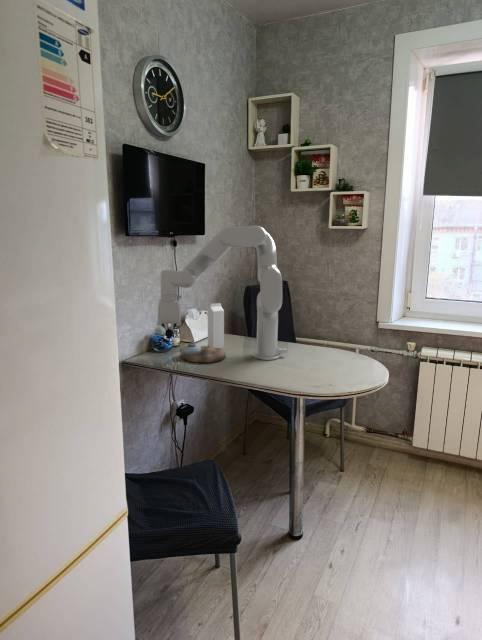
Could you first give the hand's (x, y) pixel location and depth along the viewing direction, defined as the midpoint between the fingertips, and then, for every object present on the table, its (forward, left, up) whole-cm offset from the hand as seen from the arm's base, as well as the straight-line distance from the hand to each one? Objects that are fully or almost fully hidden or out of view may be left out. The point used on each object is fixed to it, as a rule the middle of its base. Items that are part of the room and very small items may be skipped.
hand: (169, 337), depth 195 cm
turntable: (-16, 0, -9) cm, 18 cm away
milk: (-22, -17, -10) cm, 29 cm away
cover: (-10, 0, -7) cm, 12 cm away
